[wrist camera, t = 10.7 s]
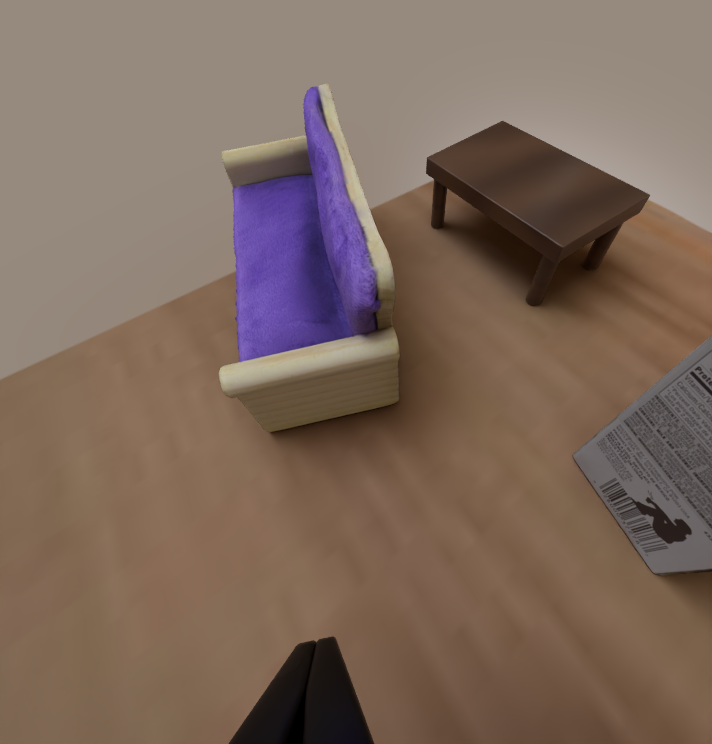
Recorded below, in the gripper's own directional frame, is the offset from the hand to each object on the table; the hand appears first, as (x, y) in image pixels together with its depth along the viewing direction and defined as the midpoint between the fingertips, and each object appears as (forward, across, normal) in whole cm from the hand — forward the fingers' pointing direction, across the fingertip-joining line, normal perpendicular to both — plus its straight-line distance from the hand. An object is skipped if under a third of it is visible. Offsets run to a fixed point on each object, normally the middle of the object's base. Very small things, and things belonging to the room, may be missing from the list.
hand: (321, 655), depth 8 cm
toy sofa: (+22, 0, +7) cm, 23 cm away
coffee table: (+23, +15, +8) cm, 29 cm away
